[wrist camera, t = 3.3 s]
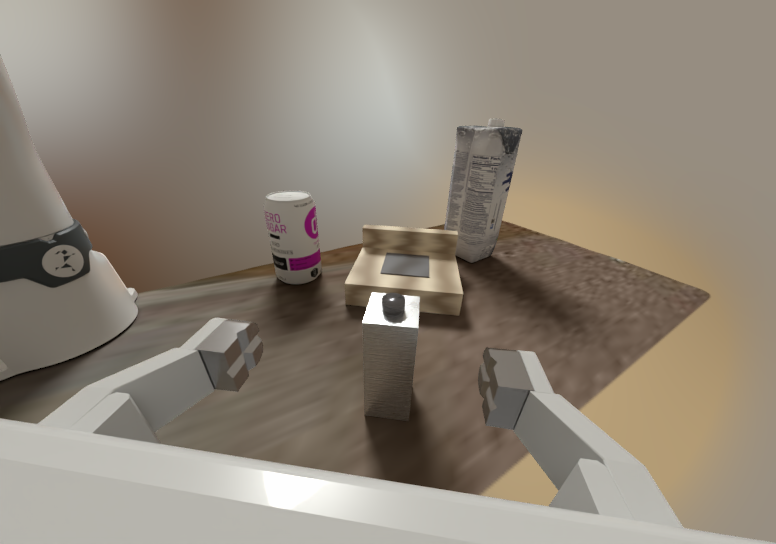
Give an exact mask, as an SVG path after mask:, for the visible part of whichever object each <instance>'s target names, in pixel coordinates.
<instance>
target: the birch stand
mask: <svg viewBox="0 0 776 544" xmlns="http://www.w3.org/2000/svg"><path fill="white" fill-rule="evenodd" d="M457 239H458V232H457V231H450V230H436V229H421V228H406V227H392V226H377V225H364V227H363V248H362V250H361V252H360V254H359V256H358V258H357V260H356V262H355V264H354V266H353V268H352V270H351V272H350V274H349V276H348V278H347V280H346V282H345V300H346V305H354V306H365V307H368V304H369V300H370V297H371V294H372V292H375V293H386V294H387V293H399V294H401V295H408V296H418V297H420V302H419V312H426V313H437V314H447V315H457V316H459V314H460V309H461V304H462V298H463V290H462V285H461V281H460V276H459V271H458V266H457V261H456V256H455V252H456V245H457Z"/></svg>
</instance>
